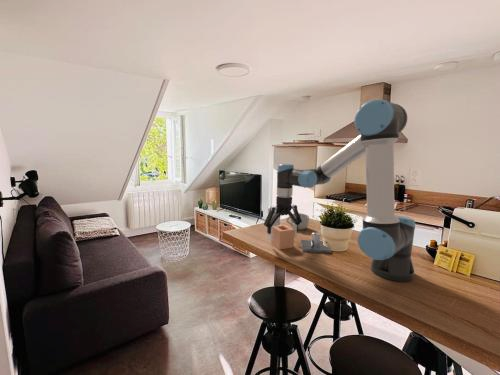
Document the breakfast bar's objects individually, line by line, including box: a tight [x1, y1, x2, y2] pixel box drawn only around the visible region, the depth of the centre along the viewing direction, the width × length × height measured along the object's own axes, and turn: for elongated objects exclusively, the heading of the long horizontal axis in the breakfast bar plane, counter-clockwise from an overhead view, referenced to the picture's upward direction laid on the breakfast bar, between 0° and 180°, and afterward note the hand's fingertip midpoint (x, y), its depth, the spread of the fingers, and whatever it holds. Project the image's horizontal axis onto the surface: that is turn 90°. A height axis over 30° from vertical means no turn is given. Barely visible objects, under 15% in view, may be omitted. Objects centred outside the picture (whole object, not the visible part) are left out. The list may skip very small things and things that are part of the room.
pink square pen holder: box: [270, 224, 295, 250], centre depth 126 cm, size 8×8×9 cm
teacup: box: [285, 212, 310, 231], centre depth 154 cm, size 14×11×8 cm
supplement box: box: [267, 205, 281, 226], centre depth 155 cm, size 7×7×13 cm
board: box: [300, 231, 332, 254], centre depth 125 cm, size 12×13×7 cm
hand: (282, 238), depth 127 cm, fingers open, 13 cm apart
